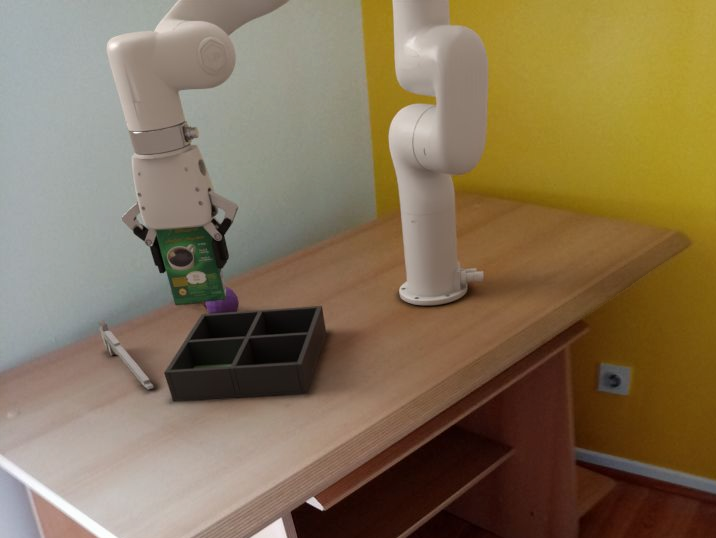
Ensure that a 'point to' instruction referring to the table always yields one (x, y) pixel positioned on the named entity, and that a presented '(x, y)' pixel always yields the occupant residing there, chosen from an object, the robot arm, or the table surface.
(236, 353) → the organizer
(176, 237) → the coffee box
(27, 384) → the table surface
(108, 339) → the caliper
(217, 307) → the kendama
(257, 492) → the table surface
